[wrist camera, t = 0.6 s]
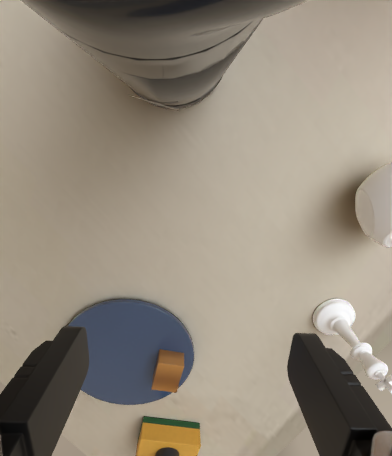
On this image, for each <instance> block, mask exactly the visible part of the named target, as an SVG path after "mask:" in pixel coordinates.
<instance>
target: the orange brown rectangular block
mask: <svg viewBox="0 0 392 456" xmlns="http://www.w3.org/2000/svg"><path fill="white" fill-rule="evenodd" d="M183 369H184V353H181V352H174V351H168V350H161V349H160V350H159V354H158V358H157V362H156V366H155V370H154V374H153V381H152V390H159V391H167V392H174V393H176V392H177V389H178V386H179V382H180V379H181V376H182V372H183Z"/></svg>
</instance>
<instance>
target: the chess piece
mask: <svg viewBox="0 0 392 456" xmlns="http://www.w3.org/2000/svg"><path fill="white" fill-rule="evenodd" d="M354 320H355V311H354V309H353V307H352V306H351V304H350V303H349V302H347V301H346V300H343V299H331V300H328V301H325V302H324V303H322V304H321V305H319V306H318V307H317V309H316V310H315V312H314V314H313V323H314V325H315V327H316V328H317V329H318V330H319V331H320V332H322V333H323V334H326V335H337V334H339V335H340V336H341V337H342V338H343V339H344V340H345V341H346V342H347V343H348V344H349V345H350V346H351V347H352V349H351V356H352V357H353V358H354V359H356V360H361V361H362V364H363V366H364V370H365V373H366V375H367V376H368V377H369V378H370V379H381V381H380V382H378V383H377V384H376V386H377V387H378V389H380V390H381V391H382V390H384V389H385V388H388V390H389V391H390V392H391V393H392V374H391V375H389V376H388V377H385V375H386V374H387V372H388V367H387V365H386V364H385V363H383V362H382V361H380V360H379V359H377V358H376V357H374V356H373V355H371V354H372V348H371V346H370V345H369V344H368V343H361V342H360V341H359V339H358V338H357V336H356V335H355V333H354V332H353V330H352V329H351V326H352V324H353V323H354Z"/></svg>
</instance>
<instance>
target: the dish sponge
mask: <svg viewBox="0 0 392 456" xmlns="http://www.w3.org/2000/svg"><path fill="white" fill-rule="evenodd" d="M200 446H201V444H200V424H199V423H194V422H186V421H178V420H170V419H162V418H153V417H145V416H144V418H143V422H142V425H141V429H140V433H139V437H138V443H137V450H136V456H197V454H198V452H199V449H200Z"/></svg>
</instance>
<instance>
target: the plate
mask: <svg viewBox="0 0 392 456" xmlns="http://www.w3.org/2000/svg"><path fill="white" fill-rule="evenodd" d="M68 326H69V327H85V328H86V332H87V341H88V351H89V368H88V372H87V375H86V378H85V380H84V383H83V385H82V387H81V389H80V390H82V391H83V392H85V393H87V394H88V395H90V396H92V397H94V398H97V399H99V400H102V401H106V402H109V403H115V404H123V405H136V404H144V403H149V402H153V401H156V400H159V399H161V398H163V397H166V396H167V395H169V394H171V393H172V392H167V391H159V390H152V381H153V374H154V370H155V366H156V362H157V358H158V354H159V350H160V349H161V350H168V351H174V352H181V353H184V369H183V372H182V376H181V379H180V382H179V386H178V388H179V387H180V386H181V385H182V384H183V383H184V381H185V380H186V379H187V377H188V375H189V374H190V371H191V369H192V366H193V361H194V348H193V342H192V339H191V336H190V334H189V332H188V331H187V329H186V328H185V326H184V325H183V324H182V323H181V321H180V320H179V319H178V318H176V317H175V316H174V315H173V314H171V313H170V312H168V311H167V310H165V309H163V308H161V307H159V306H157V305H154V304H151V303H149V302H144V301H140V300H132V299H117V300H109V301H105V302H101V303H98V304H95V305H93V306H91V307H89V308H87V309H85V310H83V311H82V312H80V313H79V314H78V315H77V316H75V317H74V318H73V319H72V321H71V322H70V323H69V324H68Z"/></svg>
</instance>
